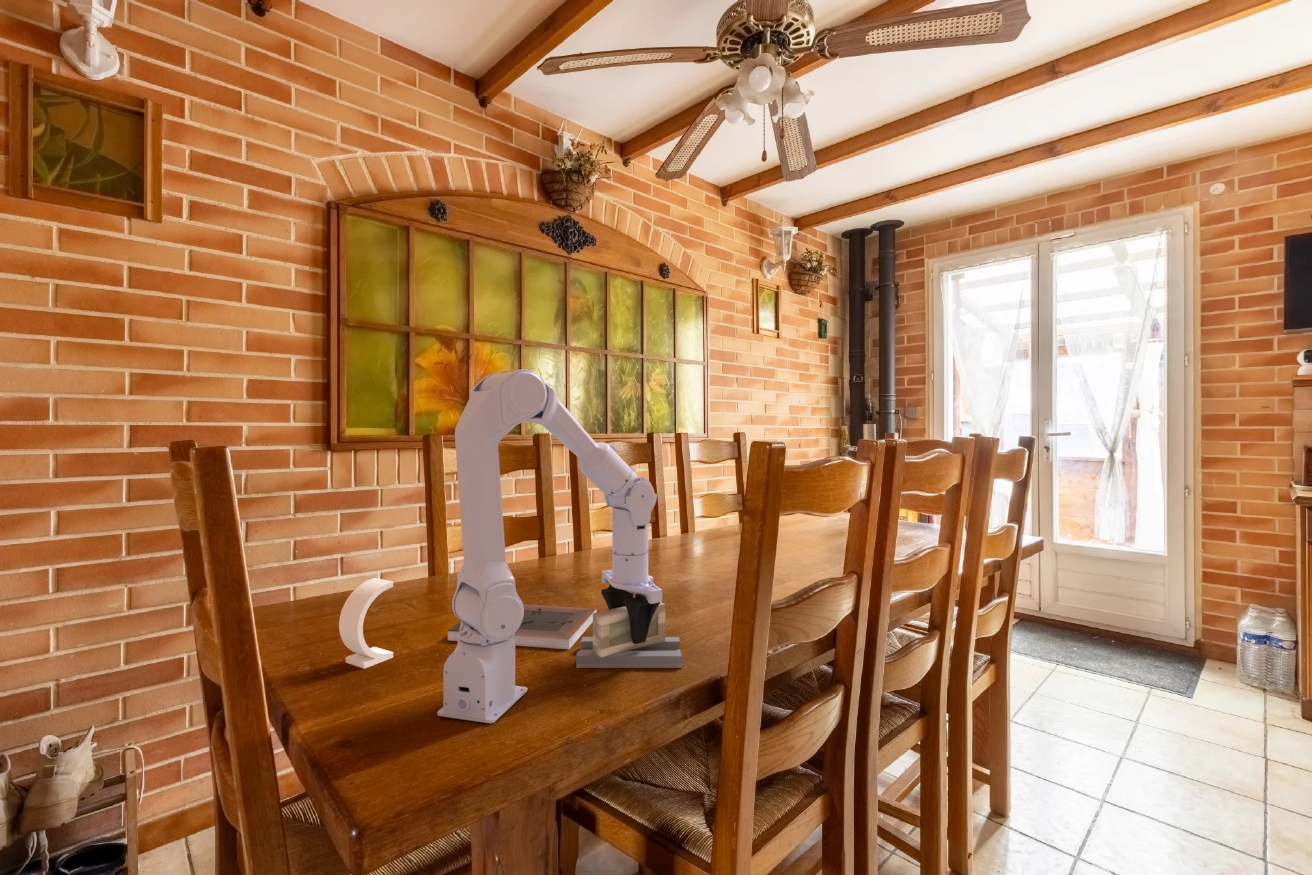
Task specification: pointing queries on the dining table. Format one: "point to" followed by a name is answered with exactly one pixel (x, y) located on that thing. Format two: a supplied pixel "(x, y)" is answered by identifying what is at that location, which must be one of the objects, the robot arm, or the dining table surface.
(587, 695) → the dining table surface
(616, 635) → the frame
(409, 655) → the dining table surface
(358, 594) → the headphone stand
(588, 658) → the grooved channel
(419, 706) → the dining table surface
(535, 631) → the picture frame
